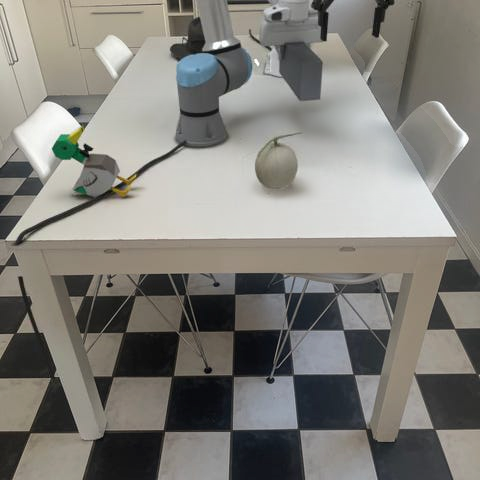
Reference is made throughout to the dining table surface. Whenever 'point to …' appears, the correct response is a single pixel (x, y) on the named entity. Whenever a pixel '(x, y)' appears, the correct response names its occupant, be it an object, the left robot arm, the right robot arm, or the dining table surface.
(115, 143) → the dining table surface
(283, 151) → the fruit
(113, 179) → the toy
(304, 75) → the box
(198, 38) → the hat
